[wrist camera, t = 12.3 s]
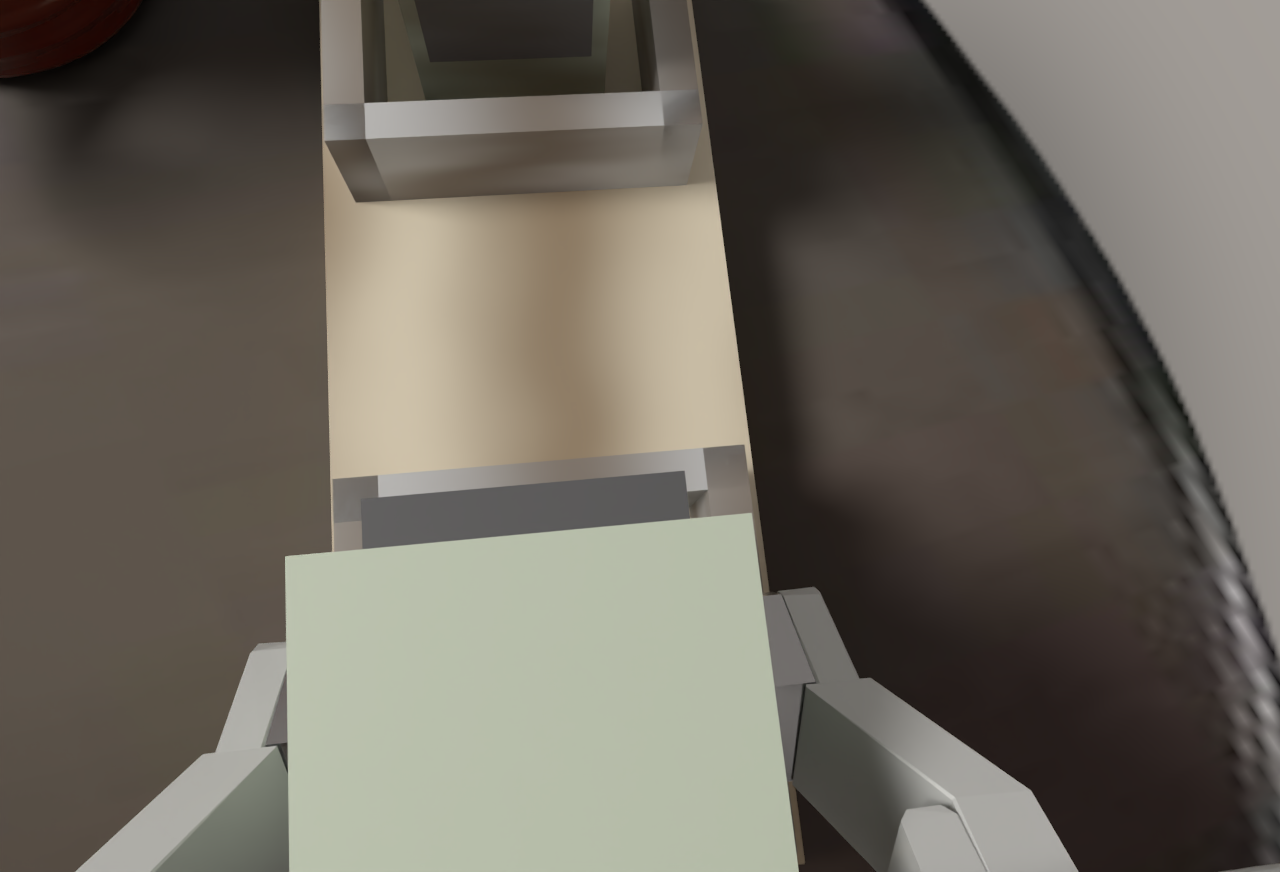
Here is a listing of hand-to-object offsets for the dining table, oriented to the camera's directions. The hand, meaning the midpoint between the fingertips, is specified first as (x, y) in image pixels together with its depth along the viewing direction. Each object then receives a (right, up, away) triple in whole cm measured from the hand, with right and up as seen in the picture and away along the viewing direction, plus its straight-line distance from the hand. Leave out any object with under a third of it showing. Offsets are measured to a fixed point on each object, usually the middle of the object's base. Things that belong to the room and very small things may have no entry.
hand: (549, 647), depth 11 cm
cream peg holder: (-1, +5, +10) cm, 11 cm away
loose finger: (0, -2, +5) cm, 6 cm away
